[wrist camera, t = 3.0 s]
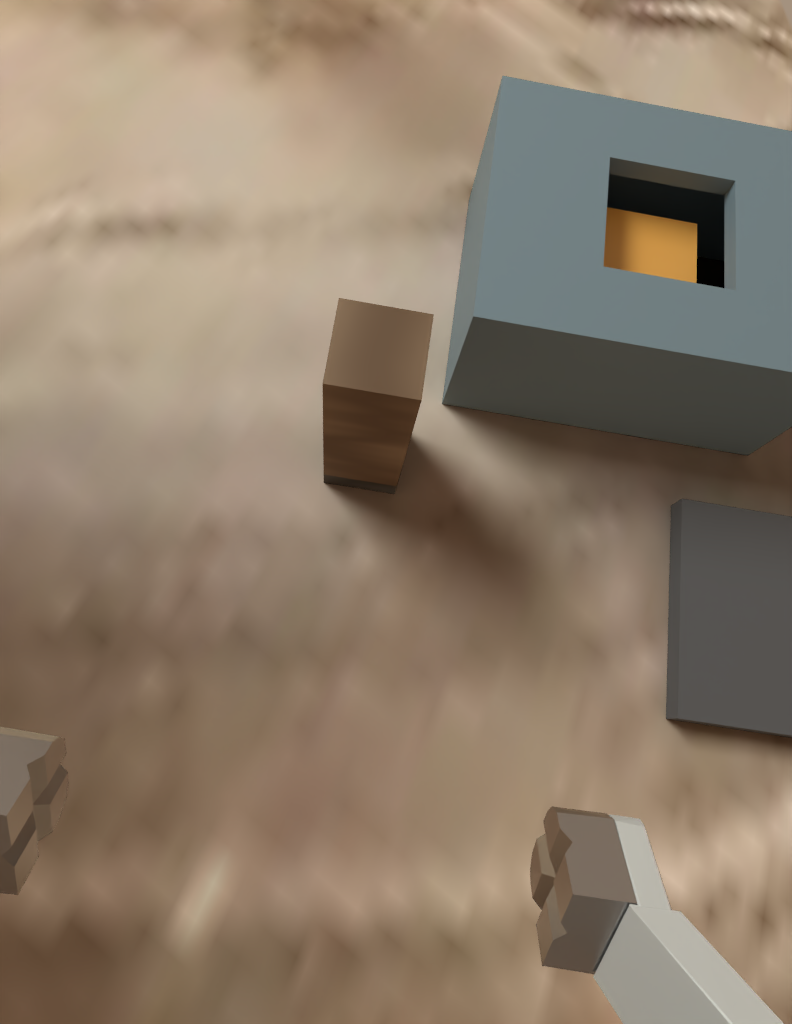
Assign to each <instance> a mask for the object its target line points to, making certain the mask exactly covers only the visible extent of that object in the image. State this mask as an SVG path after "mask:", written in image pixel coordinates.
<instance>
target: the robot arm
mask: <svg viewBox="0 0 792 1024" xmlns="http://www.w3.org/2000/svg"><path fill="white" fill-rule="evenodd" d="M65 754H66V747H65V739H64V738H62V737H58V736H53V735H47V734H41V733H35V732H29V731H23V730H17V729H12V728H6V727H0V893H5V894H14V895H18V894H19V892H20V890H21V888H22V886H23V885H24V883H25V881H26V879H27V877H28V876H29V874H30V872H31V870H32V868H33V866H34V865H35V863H36V861H37V859H38V857H39V852H38V842H37V841H39V840H41V839H42V838H44V837H45V836H47V835H48V834H50V833H51V832H52V831H53V829H54V827H55V826H56V824H57V822H58V820H59V818H60V816H61V813H62V810H63V807H64V804H65V801H66V798H67V791H68V772H67V771H66V770H65V769H64V768H63V767H62V765H61V764H60V763H61V761H62V760H63V758H64V756H65ZM544 827H545V834H544V835H542V836H541V837H539V838H538V839H537V840H536V843H535V846H534V849H533V852H532V859H531V867H530V879H531V890H532V898H533V899H534V901H535V902H536V903H537V905H538V906H539V907H540V909H541V910H542V911H541V914H540V916H539V919H538V921H537V924H536V927H537V934H538V941H539V948H540V954H541V961H542V966H547V967H554V968H560V969H566V970H572V971H578V972H584V973H590V974H594V976H593V977H594V979H595V980H596V982H597V984H598V985H599V987H600V988H601V990H602V991H603V993H604V994H605V996H606V998H607V999H608V1001H609V1002H610V1004H611V1005H612V1007H613V1008H614V1010H615V1012H616V1013H617V1015H618V1016H619V1018H620V1019H621V1021H622V1023H623V1024H784V1023H783V1022H782V1021H781V1020H780V1019H779V1018H778V1017H777V1016H776V1015H775V1013H774V1012H773V1011H772V1010H771V1009H770V1008H769V1007H768V1006H767V1005H766V1004H765V1003H764V1002H763V1000H762V999H761V998H760V997H759V996H758V995H757V994H756V993H755V992H754V991H753V990H752V988H751V987H750V986H749V985H748V984H747V983H746V982H745V981H744V980H743V979H742V978H741V977H740V975H739V974H738V973H737V972H736V971H735V970H734V969H733V968H732V967H731V966H730V965H729V963H728V962H727V961H726V960H725V959H724V958H723V957H722V956H721V955H720V954H719V953H718V952H717V950H716V949H715V948H714V947H713V946H712V945H711V944H710V943H709V942H708V941H707V940H706V938H705V937H704V936H703V935H702V934H701V933H700V932H699V931H698V930H697V929H696V928H695V927H694V925H693V924H692V923H691V922H690V921H689V920H688V919H687V918H686V917H685V916H684V915H683V913H682V912H681V911H675V910H672V909H671V906H670V903H669V900H668V897H667V894H666V891H665V888H664V884H663V881H662V878H661V875H660V872H659V869H658V866H657V863H656V860H655V857H654V854H653V851H652V848H651V844H650V841H649V838H648V835H647V832H646V829H645V826H644V824H643V823H642V821H641V820H640V819H638V818H631V817H624V816H617V815H608V814H605V813H598V812H590V811H582V810H575V809H567V808H559V807H551V808H550V809H549V810H548V811H547V814H546V816H545V819H544Z"/></svg>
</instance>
